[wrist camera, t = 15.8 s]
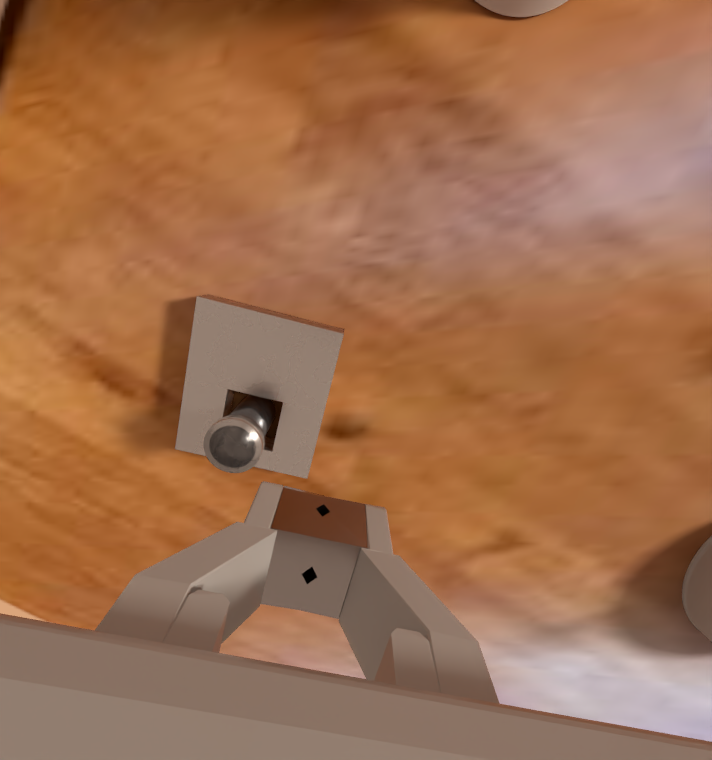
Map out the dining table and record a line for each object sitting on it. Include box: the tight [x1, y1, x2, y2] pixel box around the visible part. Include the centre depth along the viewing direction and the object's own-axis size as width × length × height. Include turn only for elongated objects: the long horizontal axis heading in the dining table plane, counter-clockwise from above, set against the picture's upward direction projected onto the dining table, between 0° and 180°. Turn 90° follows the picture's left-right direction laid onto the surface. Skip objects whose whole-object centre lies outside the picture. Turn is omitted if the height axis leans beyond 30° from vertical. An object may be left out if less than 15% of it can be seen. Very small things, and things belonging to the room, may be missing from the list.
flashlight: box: [203, 394, 276, 473], centre depth 37 cm, size 5×5×9 cm
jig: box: [175, 294, 344, 478], centre depth 39 cm, size 16×14×3 cm
